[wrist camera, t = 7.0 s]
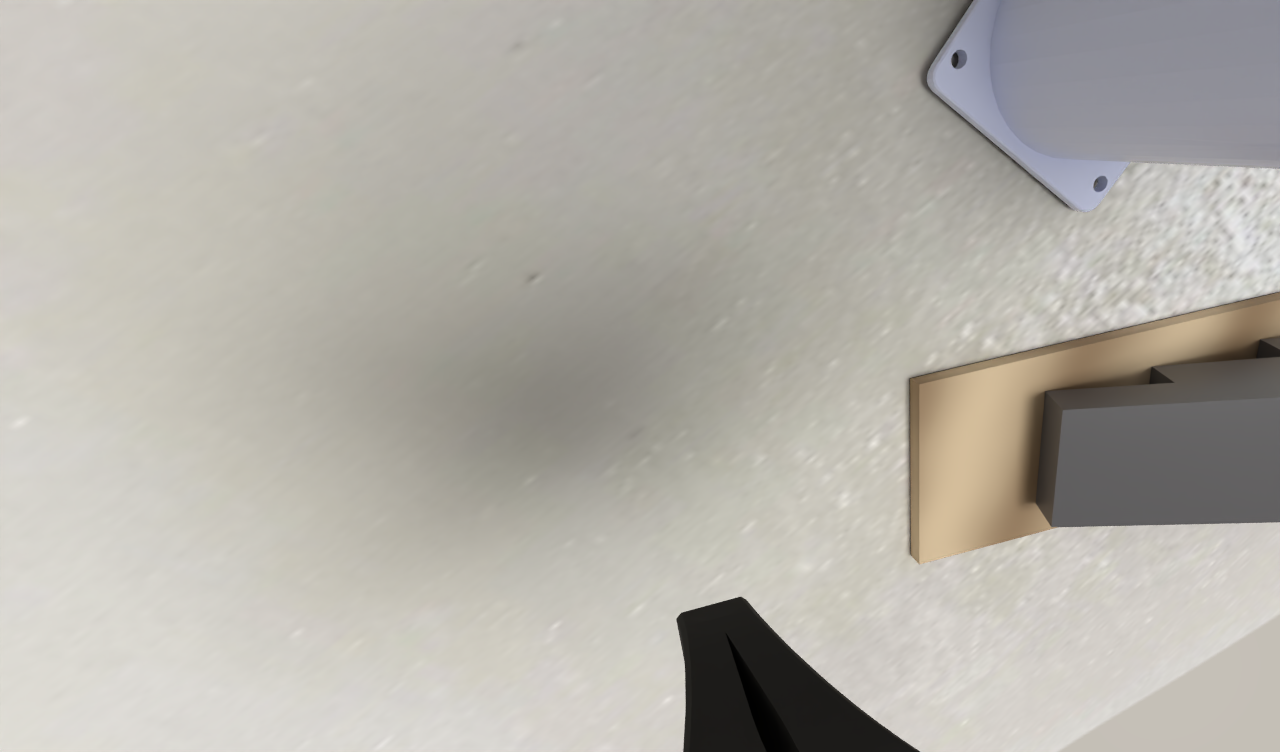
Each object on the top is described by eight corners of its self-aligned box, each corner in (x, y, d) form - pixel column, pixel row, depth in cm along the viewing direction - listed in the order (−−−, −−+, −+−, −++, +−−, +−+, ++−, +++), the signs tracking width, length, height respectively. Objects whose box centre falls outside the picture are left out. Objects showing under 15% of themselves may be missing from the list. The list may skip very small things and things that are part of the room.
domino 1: (1151, 366, 25) (1408, 347, 23) (1134, 477, 27) (1371, 468, 25) (1175, 383, 23) (1451, 364, 22) (1156, 500, 25) (1409, 491, 23)
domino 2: (1045, 390, 24) (1300, 374, 22) (1035, 503, 26) (1270, 496, 24) (1062, 410, 23) (1337, 394, 21) (1051, 527, 25) (1302, 521, 23)
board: (1496, 241, 27) (1517, 243, 26) (1438, 415, 30) (1455, 420, 29) (910, 378, 24) (919, 384, 23) (911, 555, 27) (919, 564, 26)
